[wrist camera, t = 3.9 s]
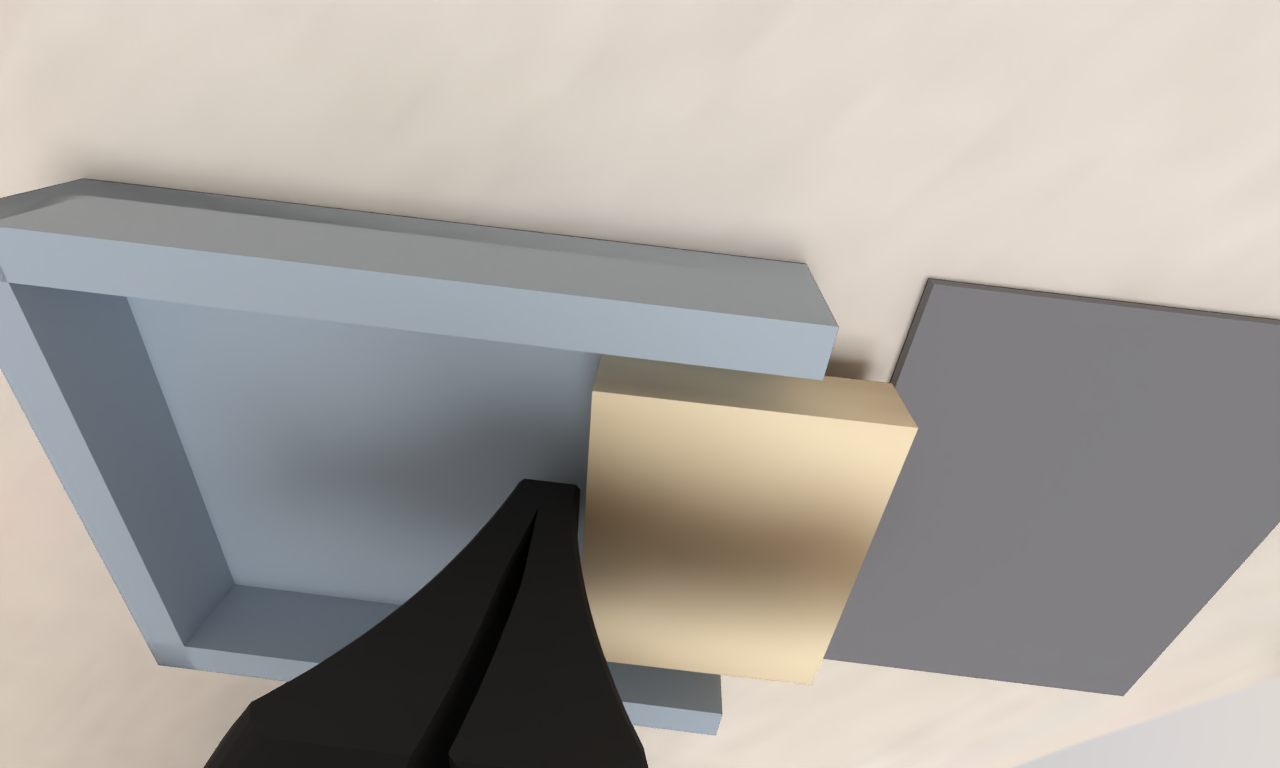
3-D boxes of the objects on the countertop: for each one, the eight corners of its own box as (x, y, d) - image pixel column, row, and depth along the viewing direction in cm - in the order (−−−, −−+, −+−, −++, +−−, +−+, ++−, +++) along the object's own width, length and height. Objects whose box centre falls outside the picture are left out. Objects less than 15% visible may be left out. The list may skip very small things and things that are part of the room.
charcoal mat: (1116, 686, 18) (1123, 695, 18) (792, 646, 18) (794, 655, 18) (1423, 337, 12) (1439, 343, 12) (928, 278, 12) (934, 283, 12)
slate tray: (711, 636, 18) (715, 735, 16) (232, 576, 18) (158, 665, 16) (806, 264, 12) (839, 327, 9) (82, 179, 12) (-80, 217, 10)
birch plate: (801, 630, 16) (812, 685, 15) (585, 605, 16) (576, 657, 15) (892, 383, 12) (918, 428, 11) (602, 350, 12) (592, 390, 11)
